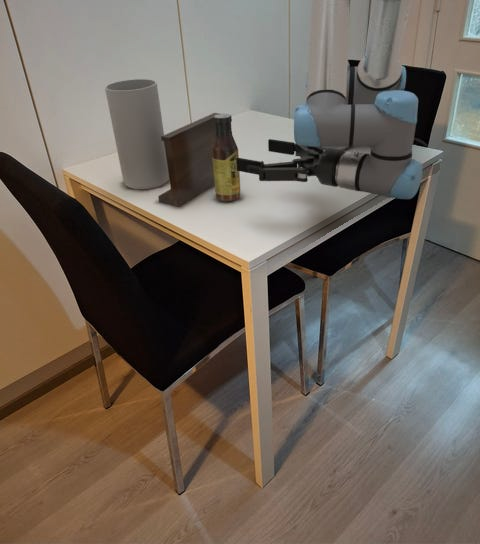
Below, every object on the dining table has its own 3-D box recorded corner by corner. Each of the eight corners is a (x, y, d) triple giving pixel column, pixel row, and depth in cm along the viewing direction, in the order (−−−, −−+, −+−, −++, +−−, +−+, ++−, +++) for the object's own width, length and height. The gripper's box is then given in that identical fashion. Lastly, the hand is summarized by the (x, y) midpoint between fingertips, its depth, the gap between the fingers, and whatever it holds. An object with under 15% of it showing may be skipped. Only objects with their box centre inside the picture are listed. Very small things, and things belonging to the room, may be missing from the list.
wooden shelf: (226, 177, 130) (221, 113, 121) (178, 207, 116) (169, 137, 107) (207, 173, 133) (201, 111, 124) (158, 202, 119) (147, 134, 110)
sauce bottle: (238, 203, 116) (232, 120, 106) (212, 202, 118) (205, 120, 107) (243, 192, 122) (238, 111, 111) (219, 191, 123) (212, 112, 112)
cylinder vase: (162, 191, 125) (146, 90, 111) (116, 189, 127) (96, 91, 114) (175, 172, 135) (163, 78, 122) (133, 172, 138) (116, 79, 124)
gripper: (365, 133, 106) (280, 122, 116) (315, 172, 88) (221, 155, 99) (363, 166, 110) (281, 153, 120) (314, 209, 93) (223, 189, 103)
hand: (253, 154), depth 109 cm, fingers open, 13 cm apart
